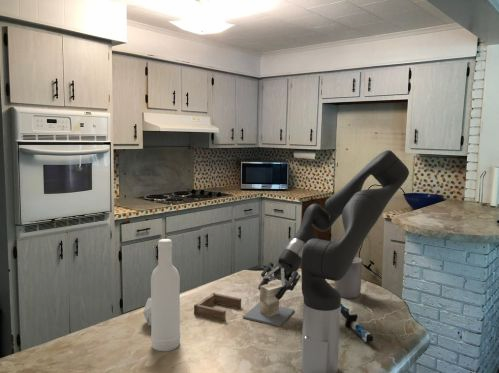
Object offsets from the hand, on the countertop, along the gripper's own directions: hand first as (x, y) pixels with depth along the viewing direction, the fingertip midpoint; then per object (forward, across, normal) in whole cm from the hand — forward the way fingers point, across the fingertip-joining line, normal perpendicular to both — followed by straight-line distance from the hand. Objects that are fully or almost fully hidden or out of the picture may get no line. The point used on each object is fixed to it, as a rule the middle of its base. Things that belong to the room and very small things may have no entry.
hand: (268, 294), depth 137 cm
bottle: (+31, +1, +20) cm, 37 cm away
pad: (+5, 0, -5) cm, 7 cm away
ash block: (+4, 0, -5) cm, 7 cm away
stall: (+13, +12, +3) cm, 18 cm away
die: (+28, +16, +18) cm, 37 cm away
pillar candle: (-21, -3, -31) cm, 38 cm away
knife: (-7, -19, -17) cm, 26 cm away
